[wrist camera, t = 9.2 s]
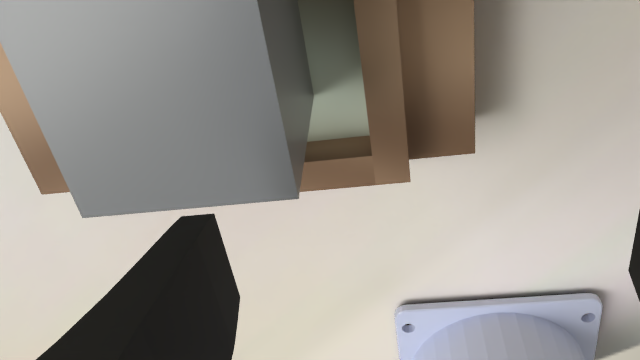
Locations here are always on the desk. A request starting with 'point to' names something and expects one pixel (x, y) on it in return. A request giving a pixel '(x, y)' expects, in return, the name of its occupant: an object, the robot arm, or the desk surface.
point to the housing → (165, 98)
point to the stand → (346, 92)
